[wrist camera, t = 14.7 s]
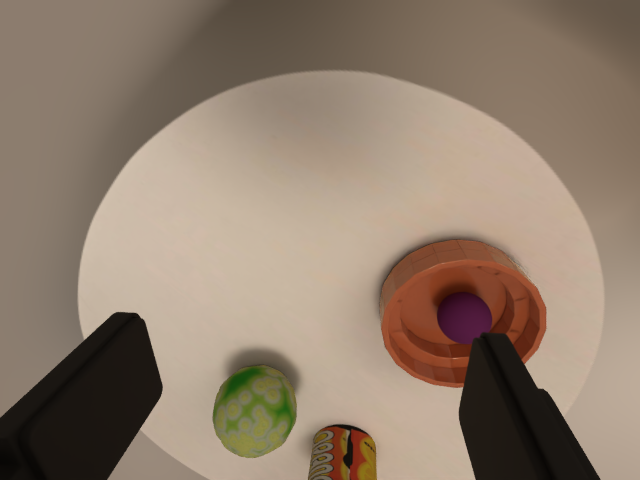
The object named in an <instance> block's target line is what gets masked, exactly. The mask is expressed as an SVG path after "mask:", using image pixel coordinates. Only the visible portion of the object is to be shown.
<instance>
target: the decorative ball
mask: <svg viewBox="0 0 640 480" xmlns="http://www.w3.org/2000/svg"><path fill="white" fill-rule="evenodd" d="M296 408H297V403H296V398H295V393H294V389H293V387H292V386H291V384H290V383H289V381H288V380H287V378H286V376H284V374H282V373H281V372H280V371H278V370H275V369H273V368H271V367H269V366H266V365H258V366H250V367H244V368H241V369H240V370H239V371H237V372H236V373H235V374H233V375H232V376H231V377H229V378H228V379H227V380H226V381H225V382H224V383H223V384H222V386H221V387H220V389H219V392H218V393H217V396H216V400H215V404H214V410H213V423H214V428H215V432H216V435H217V436H218V438H219V439H220V440H221V442H222V444H223V445H224V447H225V448H227V449H228V450H229V451H230V452H232V453H234V454H237V455H238V456H241V457H246V458H256V457H260V456H263V455H265V454H267V453H269V452H271V451H273V450H275V449H276V448H278V447H280V446H281V445H282V444H283V443H284V442H285V441H286V439H287V437H288V435H289V434H290V432H291V430H292V428H293V426H294V424H295V422H296V417H297V414H296Z"/></svg>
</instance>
